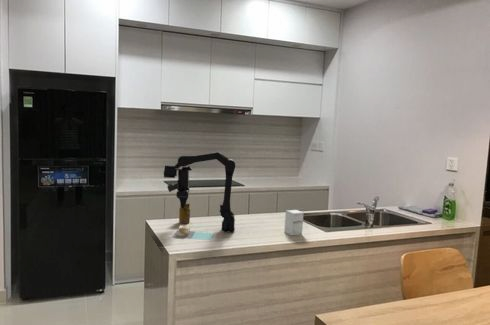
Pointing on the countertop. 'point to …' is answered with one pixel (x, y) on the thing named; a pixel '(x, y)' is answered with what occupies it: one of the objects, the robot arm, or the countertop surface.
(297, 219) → the supplement box
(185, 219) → the condiment
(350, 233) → the countertop surface
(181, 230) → the beech block
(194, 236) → the runner mat
